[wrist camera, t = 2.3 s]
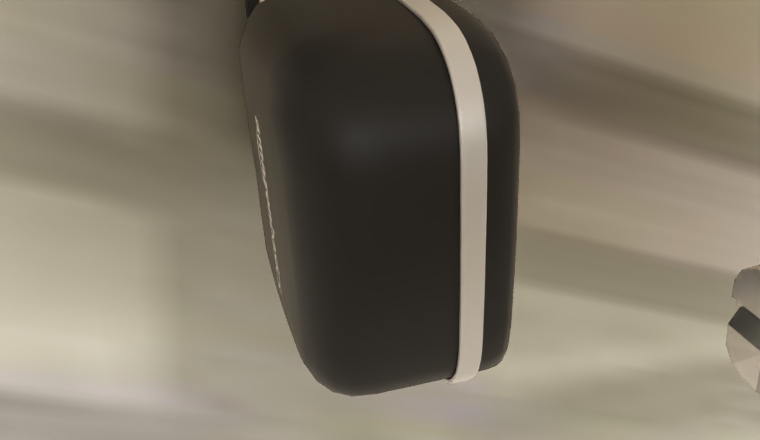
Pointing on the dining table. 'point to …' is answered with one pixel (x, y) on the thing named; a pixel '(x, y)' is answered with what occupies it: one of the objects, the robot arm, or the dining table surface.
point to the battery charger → (385, 185)
